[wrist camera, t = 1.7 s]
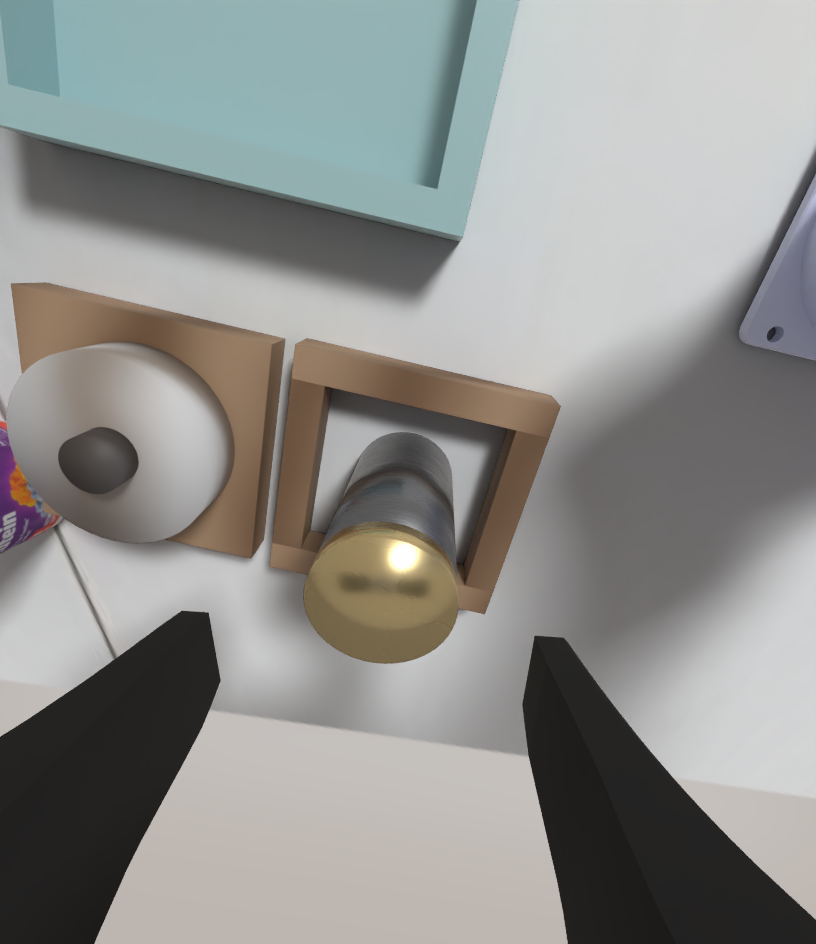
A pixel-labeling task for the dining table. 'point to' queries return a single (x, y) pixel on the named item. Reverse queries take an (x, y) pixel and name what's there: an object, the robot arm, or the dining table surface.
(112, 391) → the block
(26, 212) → the dining table surface
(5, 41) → the tray
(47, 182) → the dining table surface
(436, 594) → the tin can
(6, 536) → the pill bottle
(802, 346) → the robot arm
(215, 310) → the dining table surface
